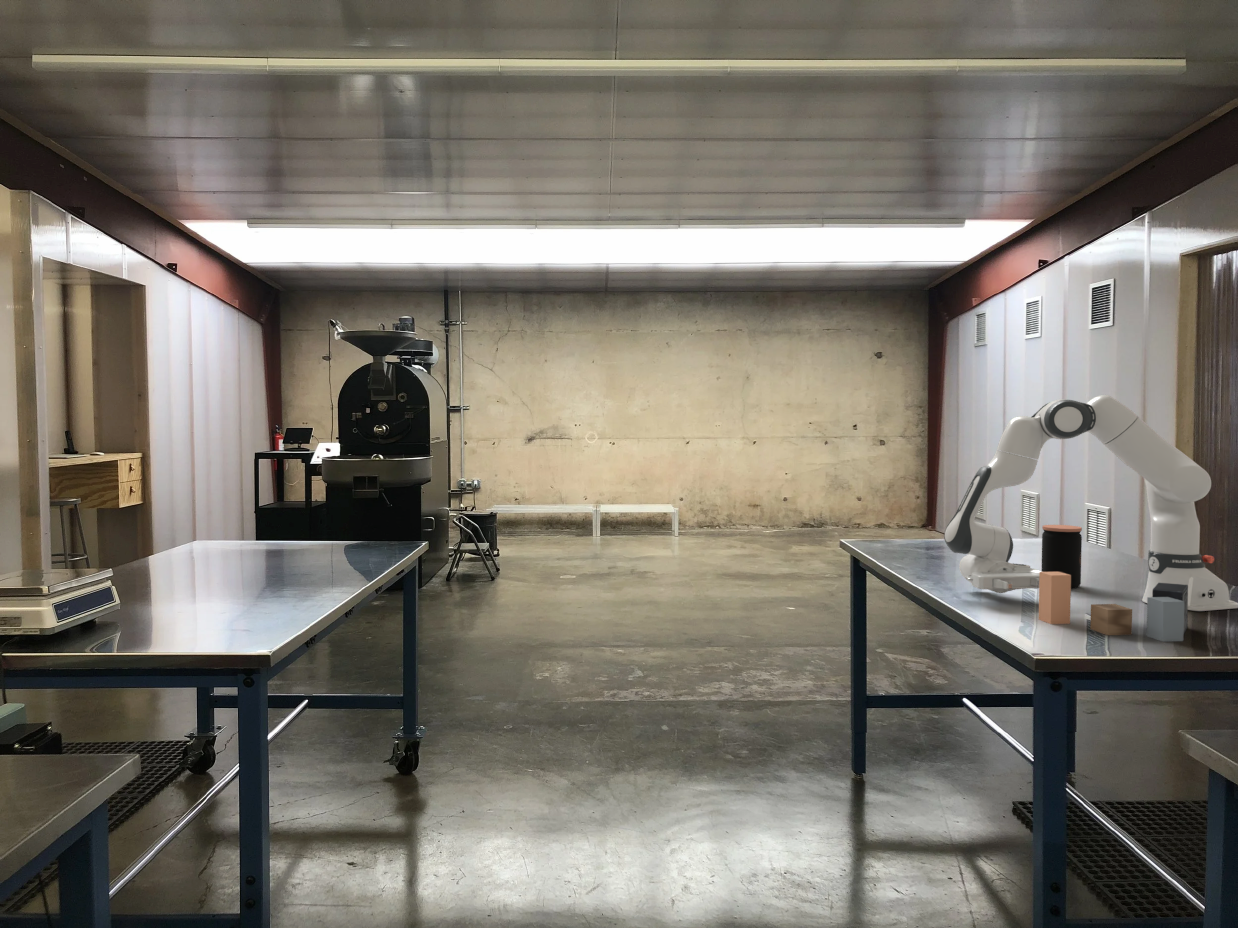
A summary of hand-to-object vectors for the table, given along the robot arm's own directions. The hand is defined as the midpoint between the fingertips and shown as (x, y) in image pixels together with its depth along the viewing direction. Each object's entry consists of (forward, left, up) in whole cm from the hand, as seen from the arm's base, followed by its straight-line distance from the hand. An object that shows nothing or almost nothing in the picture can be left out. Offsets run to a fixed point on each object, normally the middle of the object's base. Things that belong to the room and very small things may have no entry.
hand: (1026, 585), depth 218 cm
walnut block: (-7, +23, -7) cm, 25 cm away
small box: (-22, +23, -7) cm, 32 cm away
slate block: (-15, +30, -7) cm, 34 cm away
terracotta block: (0, +12, -7) cm, 14 cm away
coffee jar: (-30, -32, -7) cm, 44 cm away
